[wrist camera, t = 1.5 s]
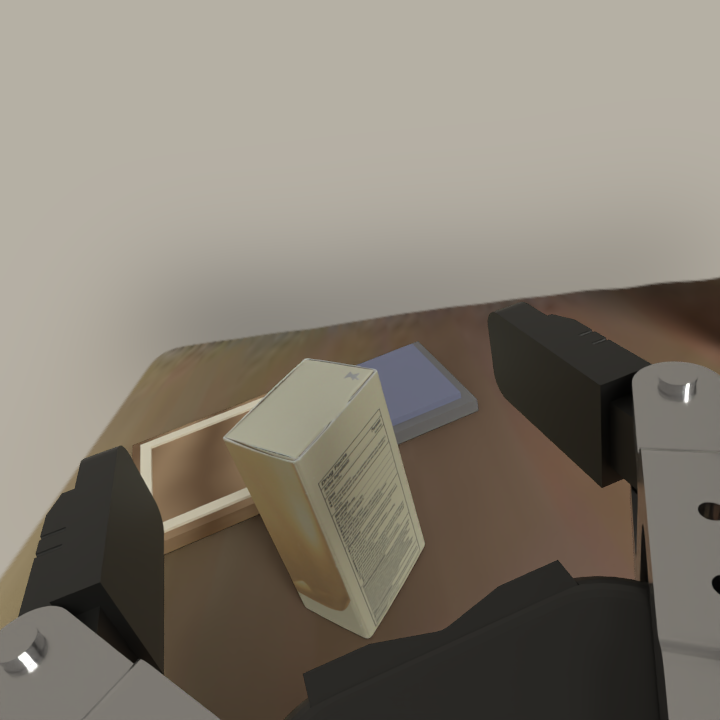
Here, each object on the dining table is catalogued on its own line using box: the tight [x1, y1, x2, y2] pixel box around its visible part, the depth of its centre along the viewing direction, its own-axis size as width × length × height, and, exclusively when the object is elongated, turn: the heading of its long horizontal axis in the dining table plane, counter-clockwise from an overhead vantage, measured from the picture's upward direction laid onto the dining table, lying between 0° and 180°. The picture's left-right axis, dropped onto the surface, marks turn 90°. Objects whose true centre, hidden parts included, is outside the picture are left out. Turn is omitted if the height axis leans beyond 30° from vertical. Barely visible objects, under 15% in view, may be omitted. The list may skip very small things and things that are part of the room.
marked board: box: [132, 393, 268, 554], centre depth 41 cm, size 12×12×1 cm
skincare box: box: [223, 358, 425, 638], centre depth 27 cm, size 6×4×12 cm
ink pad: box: [356, 341, 478, 444], centre depth 43 cm, size 10×10×2 cm
